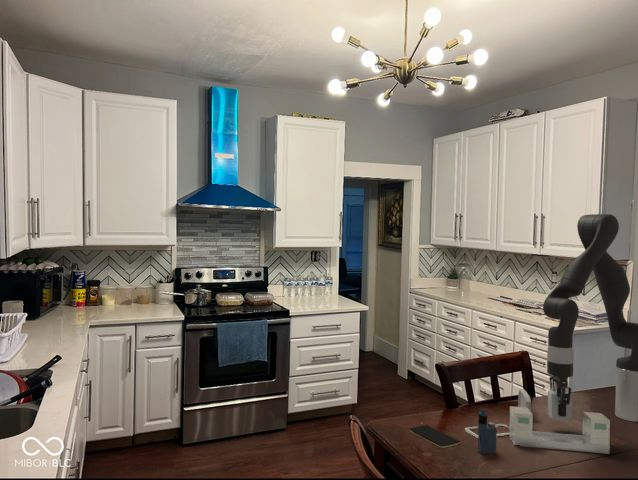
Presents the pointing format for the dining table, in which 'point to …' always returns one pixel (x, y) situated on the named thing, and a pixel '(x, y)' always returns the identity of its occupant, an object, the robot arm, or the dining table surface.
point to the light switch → (524, 399)
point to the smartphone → (434, 436)
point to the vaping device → (486, 434)
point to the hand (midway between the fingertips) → (559, 413)
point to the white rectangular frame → (477, 427)
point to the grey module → (554, 407)
